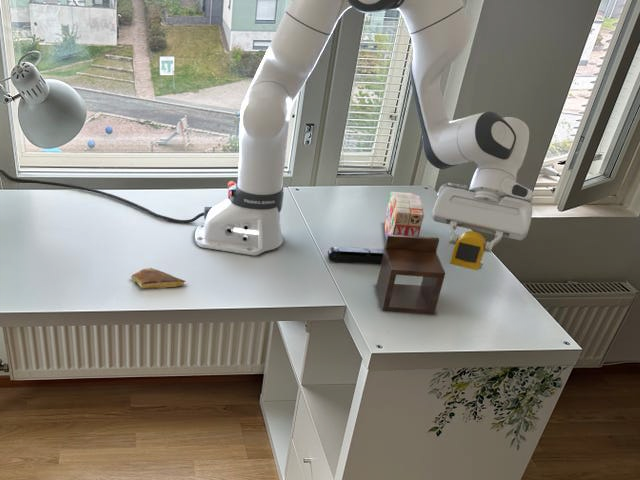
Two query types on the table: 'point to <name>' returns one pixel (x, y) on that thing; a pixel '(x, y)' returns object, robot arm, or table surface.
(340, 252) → the tablet stand
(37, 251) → the table surface
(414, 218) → the stack of blocks
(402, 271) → the shelf
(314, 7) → the robot arm
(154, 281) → the shard
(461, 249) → the tape measure
